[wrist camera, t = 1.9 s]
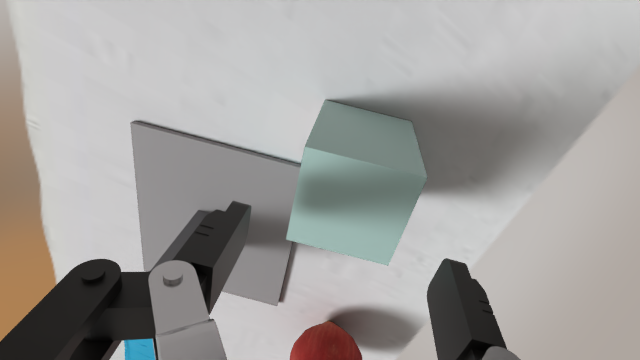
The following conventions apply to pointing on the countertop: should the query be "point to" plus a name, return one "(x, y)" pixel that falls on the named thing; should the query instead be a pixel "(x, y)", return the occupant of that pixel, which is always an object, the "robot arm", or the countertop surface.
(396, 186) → the mint green square prism
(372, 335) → the countertop surface
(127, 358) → the sponge
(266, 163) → the mat
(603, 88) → the countertop surface
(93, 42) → the countertop surface
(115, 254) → the countertop surface
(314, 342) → the onion
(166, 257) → the post
